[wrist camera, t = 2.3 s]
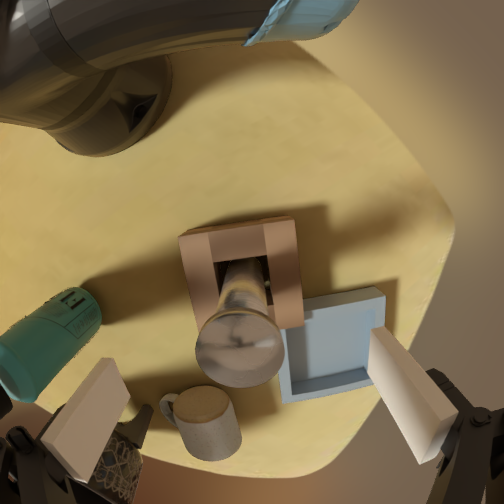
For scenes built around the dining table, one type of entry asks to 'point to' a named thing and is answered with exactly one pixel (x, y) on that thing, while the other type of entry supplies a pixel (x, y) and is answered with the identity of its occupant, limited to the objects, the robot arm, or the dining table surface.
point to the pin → (241, 331)
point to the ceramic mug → (204, 422)
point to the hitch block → (243, 246)
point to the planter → (116, 465)
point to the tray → (331, 345)
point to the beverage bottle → (45, 344)
